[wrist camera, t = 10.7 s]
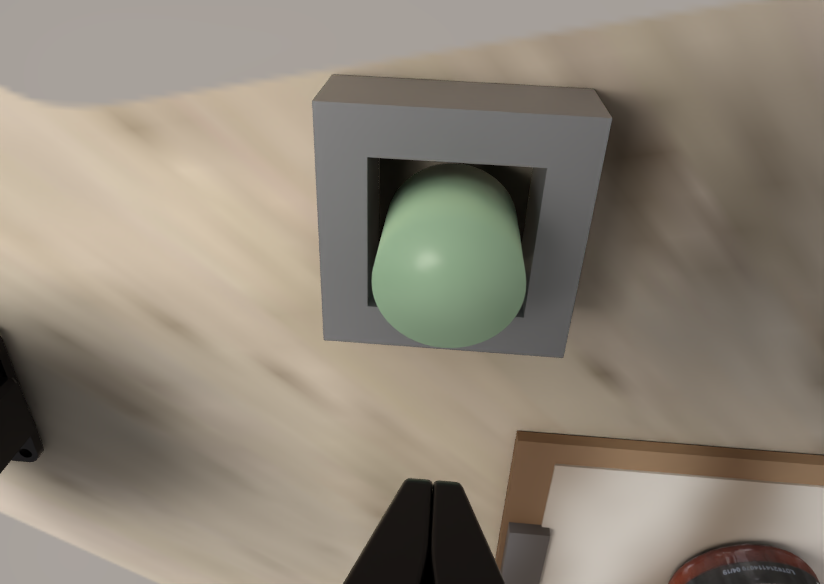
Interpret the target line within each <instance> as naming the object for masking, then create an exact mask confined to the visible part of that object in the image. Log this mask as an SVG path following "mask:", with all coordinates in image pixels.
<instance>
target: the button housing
mask: <svg viewBox="0 0 824 584" xmlns="http://www.w3.org/2000/svg"><path fill="white" fill-rule="evenodd" d="M312 108H313V128H314V149H315V170H316V190H317V211H318V232H319V252H320V273H321V294H322V314H323V335H324V340H329V341H343V342H356V343H369V344H383V345H396V346H410V347H423V348H436V349H450V350H463V351H477V352H490V353H503V354H517V355H530V356H544V357H557V358H563V357H564V352H565V347H566V342H567V337H568V332H569V328H570V323H571V318H572V313H573V308H574V303H575V298H576V293H577V288H578V284H579V279H580V274H581V269H582V264H583V259H584V254H585V249H586V244H587V240H588V235H589V230H590V225H591V220H592V215H593V210H594V205H595V201H596V196H597V191H598V186H599V181H600V176H601V171H602V166H603V161H604V157H605V152H606V147H607V142H608V137H609V132H610V127H611V122H612V117H611V115H610V114H609V112H608V110H607V109H606V107H605V106H604V104H603V103H602V101H601V99H600V98H599V96H598V95H597V93H596V92H595V90H594V89H586V88H568V87H550V86H532V85H514V84H496V83H477V82H459V81H441V80H423V79H405V78H387V77H368V76H350V75H332V76H331V77H330V78H329V80H328V81H327V82H326V83H325V85H324V86H323V87H322V89H321V90H320V91H319V93H318V94H317V95H316V97H315V98H314V99H313V101H312ZM379 158H389V159H405V160H422V161H438V162H455V163H471V164H487V165H504V166H520V167H533V170H532V176H531V183H530V190H529V197H528V204H527V211H526V218H525V225H524V232H523V239H522V253H523V260H524V267H525V273H526V292H525V297H524V301H523V303H522V306H521V308H520V310H519V312H518V313H517V315H516V317H515V318H514V319H513V320H512V322H511V323H510V324H509V325H508V326H507V327H506V328H505V329H504V330H502V331H501V332H500V333H498V334H497V335H495V336H494V337H492V338H490V339H488V340H486V341H484V342H481V343H478V344H475V345H472V346H467V347H460V348H440V347H433V346H429V345H425V344H422V343H419V342H416V341H414V340H412V339H410V338H408V337H406V336H405V335H403V334H401V333H400V332H399V331H397V330H396V329H395V328H394V327H392V325H391V324H390V323H389V322H388V321H387V320H386V319H385V318H384V316H383V315H382V314H381V312H380V310H379V308H378V306H377V304H376V302H375V299H374V296H373V291H372V271H373V267H374V262H375V259H376V255H377V251H378V247H379Z"/></svg>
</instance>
